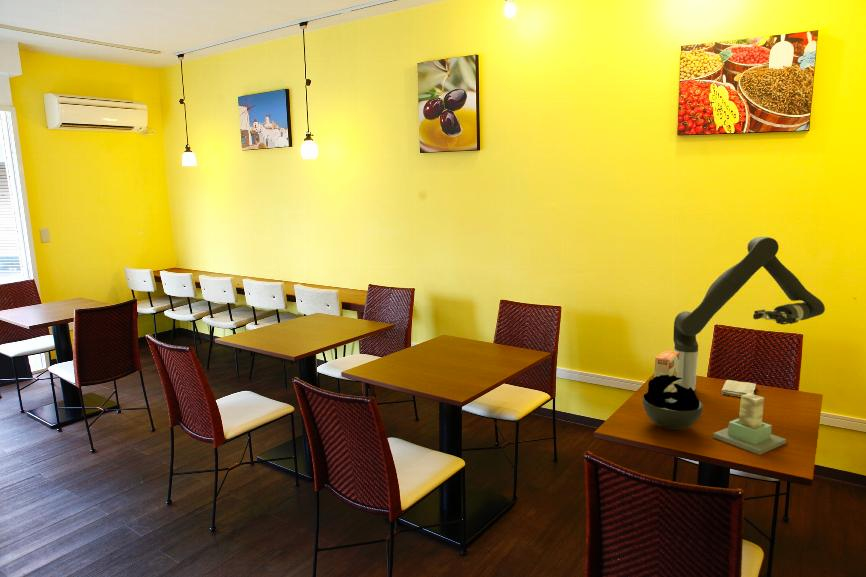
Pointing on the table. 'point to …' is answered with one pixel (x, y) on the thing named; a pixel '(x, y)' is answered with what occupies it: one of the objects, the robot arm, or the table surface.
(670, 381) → the coal bowl
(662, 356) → the cracker box
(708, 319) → the robot arm
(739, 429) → the socket holder
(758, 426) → the square peg
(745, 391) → the washcloth
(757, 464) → the table surface
